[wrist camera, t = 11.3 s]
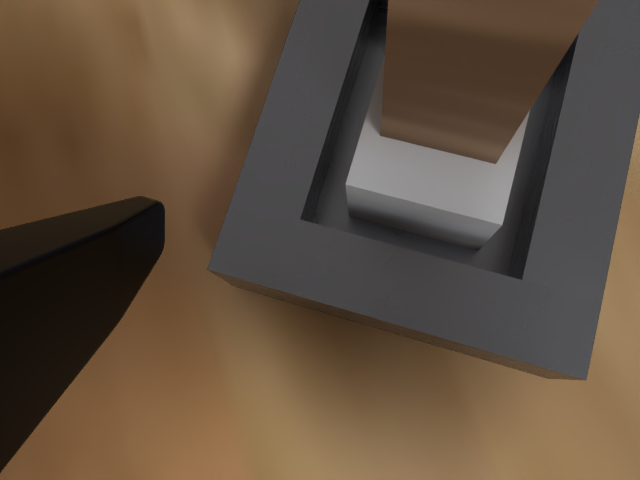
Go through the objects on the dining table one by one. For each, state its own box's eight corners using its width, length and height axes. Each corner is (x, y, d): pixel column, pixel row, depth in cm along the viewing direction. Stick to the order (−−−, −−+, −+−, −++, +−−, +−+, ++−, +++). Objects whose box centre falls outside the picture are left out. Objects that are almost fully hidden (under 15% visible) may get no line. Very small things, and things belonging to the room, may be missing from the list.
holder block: (547, 378, 17) (586, 380, 14) (233, 285, 18) (207, 269, 15) (622, 27, 19) (668, -34, 16) (338, -31, 20) (333, -98, 18)
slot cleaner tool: (478, 250, 17) (884, -182, 4) (348, 215, 17) (295, -268, 4) (522, 72, 18) (948, -740, 5) (399, 44, 18) (482, -752, 5)
